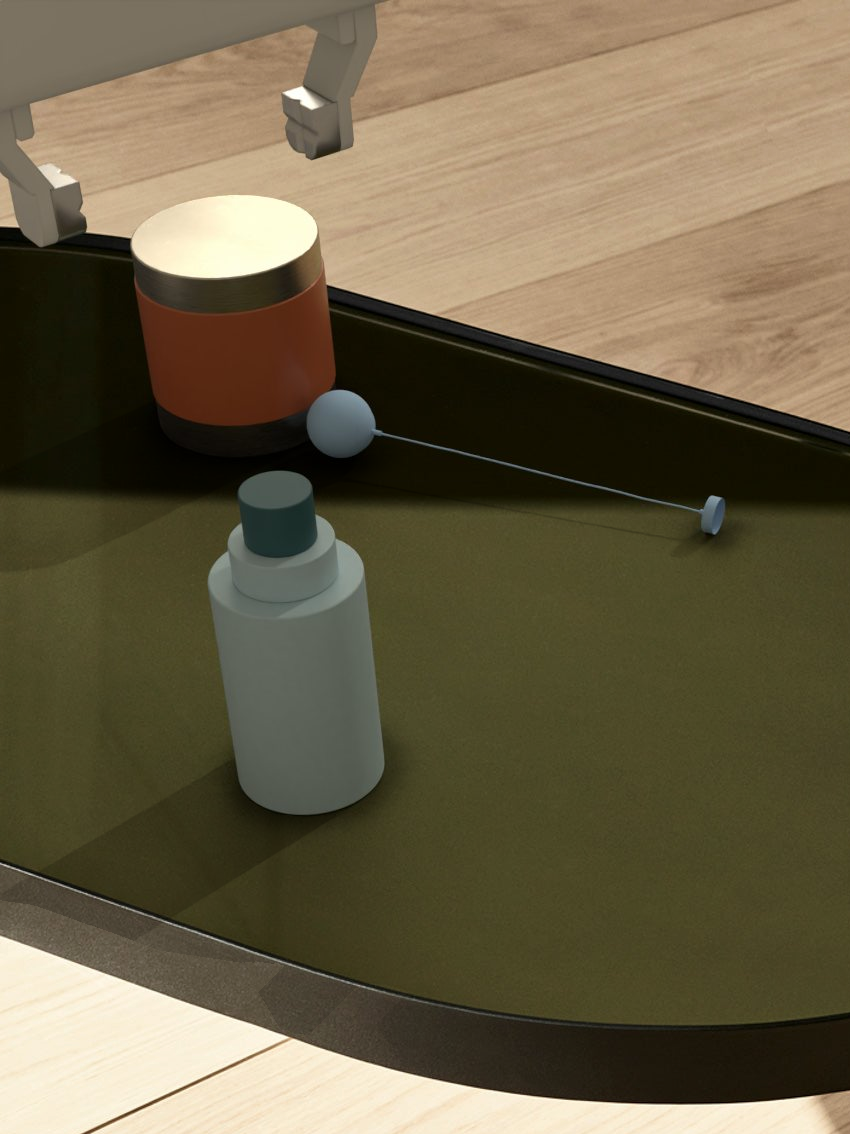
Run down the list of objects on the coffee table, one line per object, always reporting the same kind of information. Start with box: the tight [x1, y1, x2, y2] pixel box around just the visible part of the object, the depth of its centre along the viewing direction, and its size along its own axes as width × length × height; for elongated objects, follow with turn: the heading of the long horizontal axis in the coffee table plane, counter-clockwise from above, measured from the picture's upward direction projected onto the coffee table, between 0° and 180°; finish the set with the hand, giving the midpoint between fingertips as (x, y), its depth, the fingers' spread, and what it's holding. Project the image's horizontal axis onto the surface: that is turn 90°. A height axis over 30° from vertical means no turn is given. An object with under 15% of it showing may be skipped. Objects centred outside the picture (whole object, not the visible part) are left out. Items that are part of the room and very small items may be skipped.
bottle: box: [207, 470, 385, 816], centre depth 85 cm, size 6×6×12 cm
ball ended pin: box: [307, 389, 726, 535], centre depth 103 cm, size 3×20×3 cm, turn 69°
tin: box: [129, 194, 337, 458], centre depth 106 cm, size 9×9×9 cm
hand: (191, 190), depth 71 cm, fingers open, 8 cm apart
